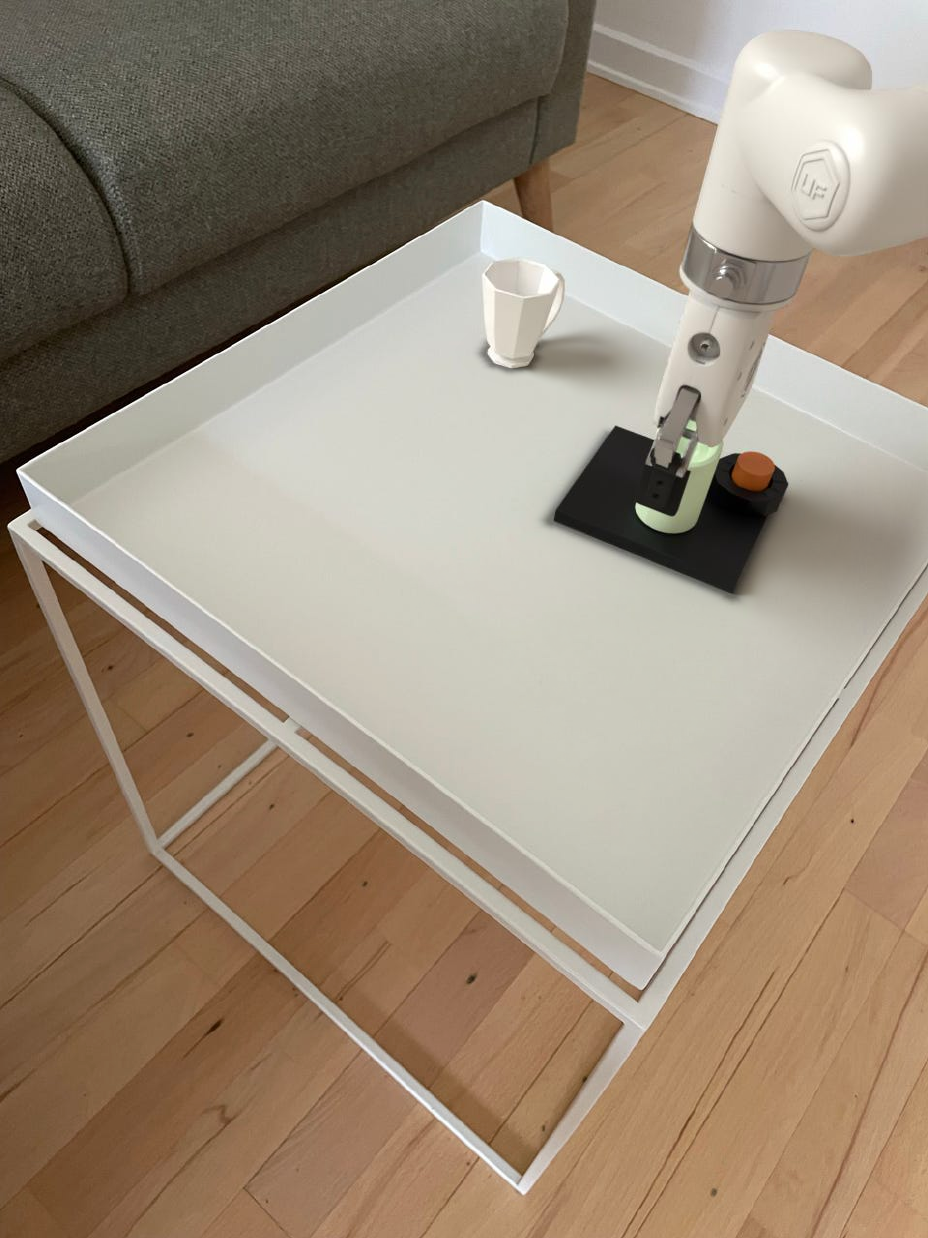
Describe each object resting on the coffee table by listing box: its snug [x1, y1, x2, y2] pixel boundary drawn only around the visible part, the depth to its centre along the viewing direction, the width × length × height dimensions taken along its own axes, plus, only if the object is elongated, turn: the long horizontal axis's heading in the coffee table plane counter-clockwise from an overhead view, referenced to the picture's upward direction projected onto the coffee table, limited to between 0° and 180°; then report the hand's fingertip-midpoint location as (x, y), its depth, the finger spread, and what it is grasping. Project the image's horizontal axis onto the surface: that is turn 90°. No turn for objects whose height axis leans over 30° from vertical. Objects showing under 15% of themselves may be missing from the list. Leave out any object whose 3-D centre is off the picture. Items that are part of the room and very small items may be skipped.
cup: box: [481, 257, 566, 369], centre depth 91 cm, size 7×10×8 cm
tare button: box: [732, 450, 776, 491], centre depth 79 cm, size 3×3×2 cm
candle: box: [635, 420, 725, 533], centre depth 75 cm, size 5×5×8 cm
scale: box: [553, 424, 789, 594], centre depth 79 cm, size 16×13×3 cm
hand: (676, 471), depth 74 cm, fingers open, 9 cm apart
